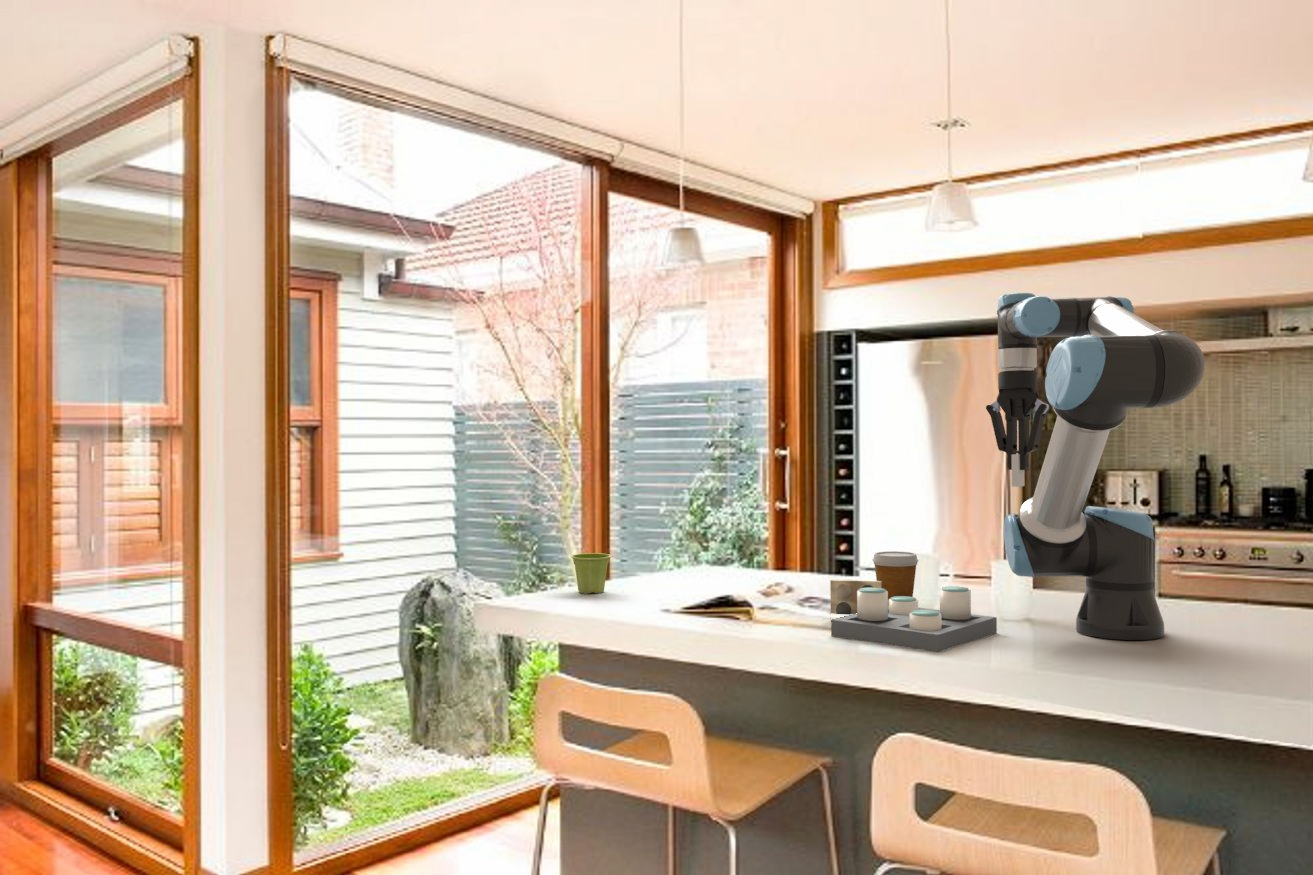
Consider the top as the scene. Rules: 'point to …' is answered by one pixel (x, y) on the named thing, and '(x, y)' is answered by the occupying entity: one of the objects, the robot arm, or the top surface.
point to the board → (914, 631)
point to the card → (847, 594)
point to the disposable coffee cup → (896, 572)
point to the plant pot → (591, 571)
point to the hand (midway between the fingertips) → (1018, 486)
